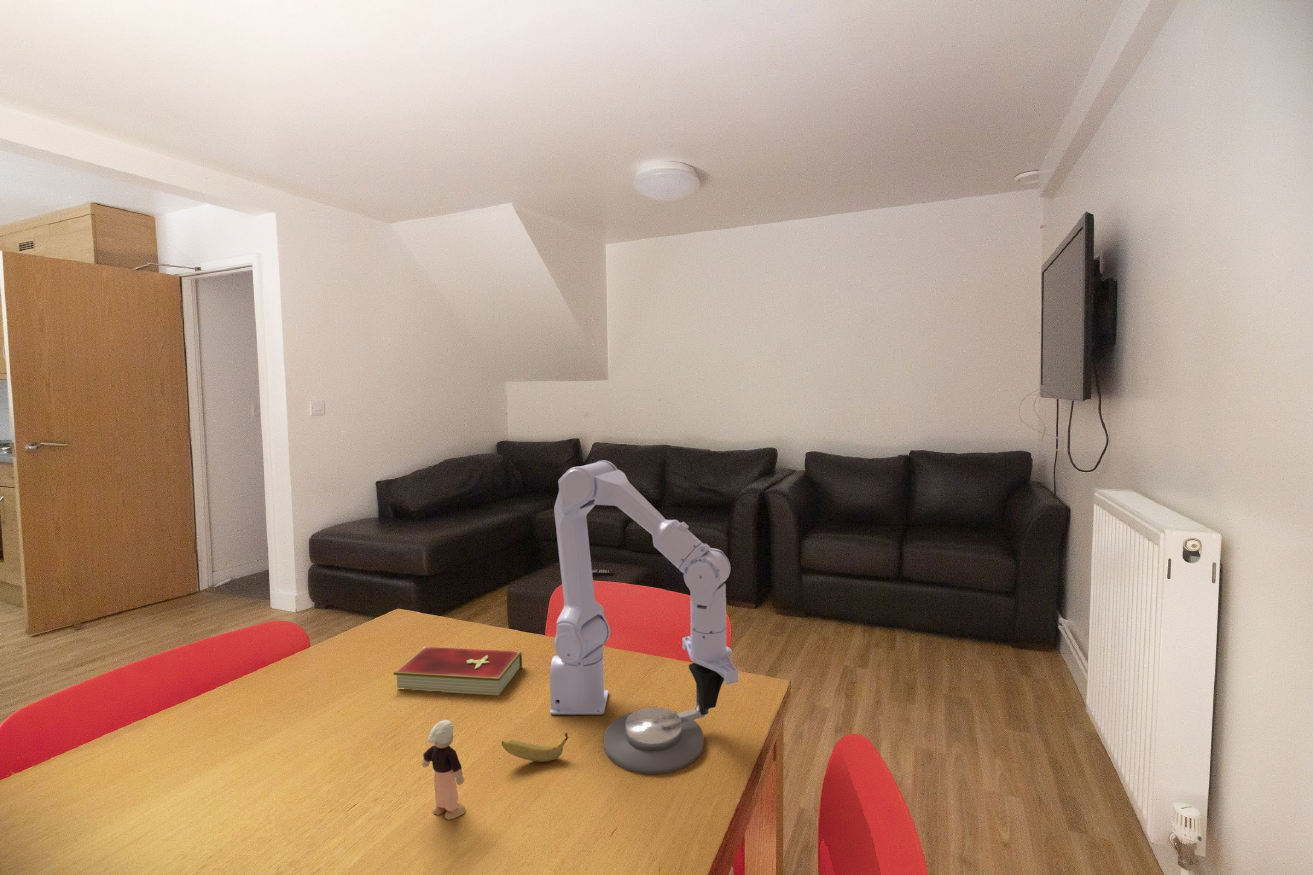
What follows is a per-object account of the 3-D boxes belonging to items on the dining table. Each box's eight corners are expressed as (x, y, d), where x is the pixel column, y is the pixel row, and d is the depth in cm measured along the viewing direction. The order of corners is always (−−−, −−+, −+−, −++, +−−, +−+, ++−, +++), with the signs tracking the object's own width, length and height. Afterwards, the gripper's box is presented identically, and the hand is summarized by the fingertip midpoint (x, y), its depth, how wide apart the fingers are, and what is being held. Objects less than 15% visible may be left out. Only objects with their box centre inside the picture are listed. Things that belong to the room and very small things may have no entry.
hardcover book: (426, 663, 132) (425, 644, 131) (522, 669, 129) (521, 649, 128) (394, 692, 120) (393, 671, 120) (499, 698, 117) (499, 677, 117)
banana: (501, 769, 95) (500, 744, 95) (503, 759, 98) (502, 735, 97) (569, 762, 97) (568, 737, 96) (568, 753, 99) (568, 729, 99)
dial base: (598, 773, 94) (598, 764, 94) (609, 715, 110) (609, 708, 110) (705, 774, 93) (705, 765, 93) (701, 716, 109) (701, 708, 109)
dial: (639, 756, 96) (638, 715, 95) (617, 726, 104) (616, 688, 103) (721, 732, 102) (721, 694, 101) (695, 706, 110) (694, 670, 109)
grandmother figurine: (478, 805, 87) (474, 718, 86) (461, 824, 84) (456, 734, 82) (432, 794, 90) (427, 709, 88) (413, 812, 86) (408, 724, 85)
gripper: (754, 638, 97) (754, 722, 98) (707, 607, 110) (708, 682, 111) (715, 647, 94) (715, 734, 95) (671, 614, 107) (672, 691, 108)
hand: (709, 706), depth 103 cm, fingers closed
